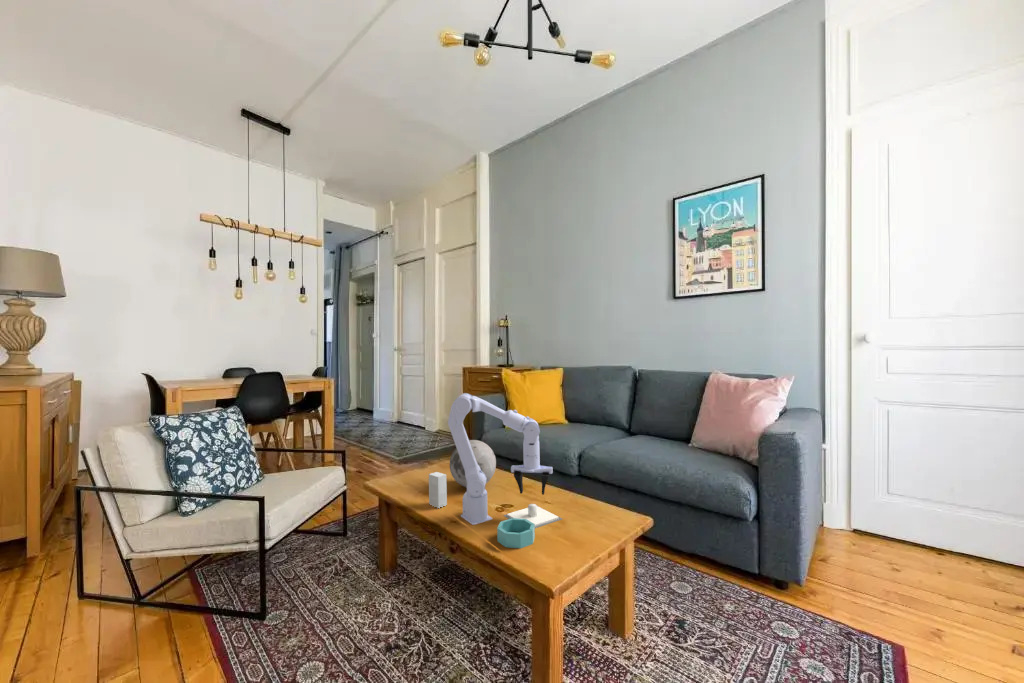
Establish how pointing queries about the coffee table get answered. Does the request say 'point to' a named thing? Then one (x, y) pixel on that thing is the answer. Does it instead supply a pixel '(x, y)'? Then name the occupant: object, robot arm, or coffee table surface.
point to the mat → (541, 524)
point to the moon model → (482, 457)
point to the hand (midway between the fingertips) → (532, 493)
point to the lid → (534, 515)
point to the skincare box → (437, 489)
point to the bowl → (516, 533)
